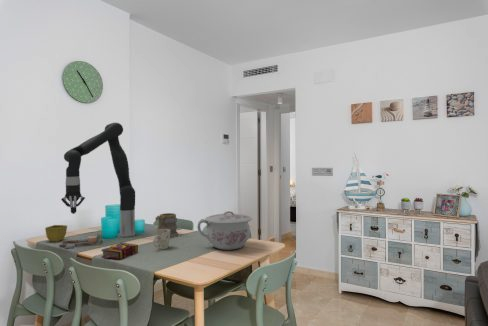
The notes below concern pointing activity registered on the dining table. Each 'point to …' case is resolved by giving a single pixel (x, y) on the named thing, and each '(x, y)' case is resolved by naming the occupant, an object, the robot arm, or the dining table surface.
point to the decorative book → (119, 251)
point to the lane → (99, 239)
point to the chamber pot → (227, 230)
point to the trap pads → (73, 246)
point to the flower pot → (56, 232)
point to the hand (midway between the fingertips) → (73, 213)
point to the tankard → (168, 223)
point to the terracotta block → (92, 239)
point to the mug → (162, 238)
